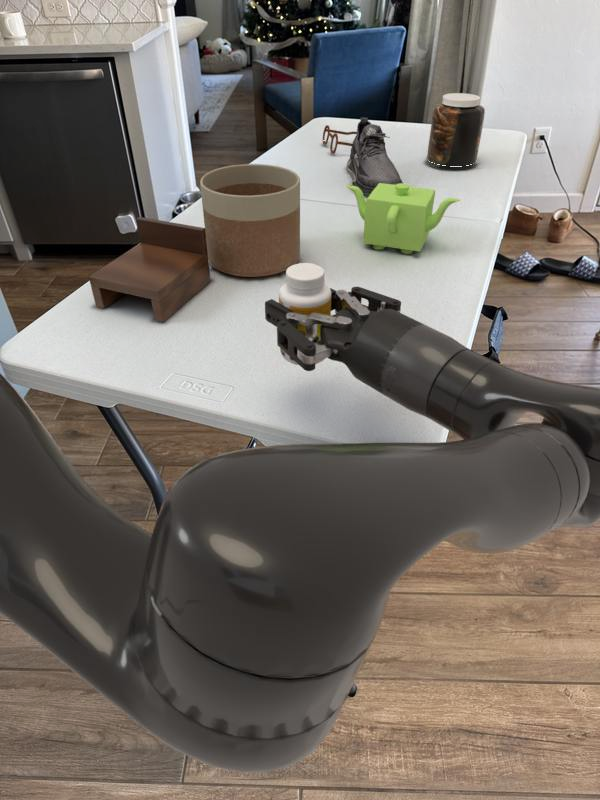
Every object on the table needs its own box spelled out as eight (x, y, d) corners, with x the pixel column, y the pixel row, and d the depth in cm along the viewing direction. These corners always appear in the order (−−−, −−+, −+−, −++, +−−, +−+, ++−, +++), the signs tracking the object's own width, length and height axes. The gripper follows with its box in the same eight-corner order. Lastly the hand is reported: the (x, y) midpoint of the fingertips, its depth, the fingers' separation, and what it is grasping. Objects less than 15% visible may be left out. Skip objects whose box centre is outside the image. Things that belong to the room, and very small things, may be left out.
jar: (455, 174, 137) (467, 104, 127) (417, 163, 143) (425, 96, 134) (484, 164, 143) (497, 97, 133) (446, 153, 149) (456, 89, 140)
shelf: (163, 322, 84) (153, 265, 78) (95, 306, 87) (81, 250, 82) (210, 281, 94) (205, 227, 88) (148, 268, 97) (139, 216, 92)
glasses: (321, 143, 157) (321, 123, 154) (367, 140, 159) (368, 120, 156) (333, 157, 147) (334, 136, 144) (382, 154, 149) (384, 133, 146)
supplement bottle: (339, 355, 65) (343, 272, 59) (301, 374, 62) (301, 288, 56) (307, 335, 68) (308, 254, 62) (270, 352, 66) (267, 269, 59)
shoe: (363, 204, 121) (367, 144, 113) (338, 165, 142) (341, 112, 134) (410, 202, 122) (418, 142, 115) (379, 163, 143) (384, 110, 136)
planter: (258, 233, 109) (255, 157, 100) (318, 260, 100) (320, 179, 91) (190, 259, 100) (179, 178, 92) (249, 290, 91) (244, 204, 83)
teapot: (451, 251, 103) (462, 191, 96) (390, 268, 98) (397, 206, 91) (400, 222, 113) (406, 166, 107) (342, 235, 108) (345, 178, 102)
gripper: (355, 428, 52) (239, 351, 62) (450, 366, 60) (334, 306, 69) (360, 359, 47) (234, 288, 57) (463, 302, 55) (336, 247, 65)
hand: (289, 298), depth 63 cm, fingers closed on supplement bottle, 5 cm apart
